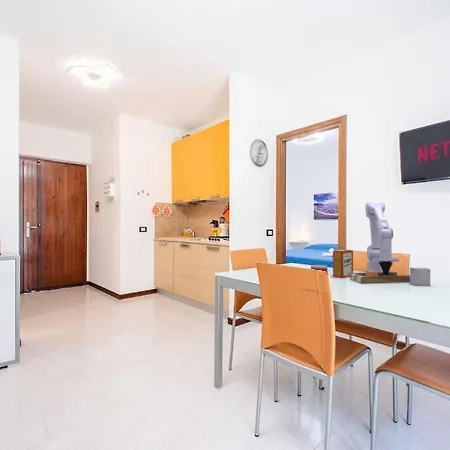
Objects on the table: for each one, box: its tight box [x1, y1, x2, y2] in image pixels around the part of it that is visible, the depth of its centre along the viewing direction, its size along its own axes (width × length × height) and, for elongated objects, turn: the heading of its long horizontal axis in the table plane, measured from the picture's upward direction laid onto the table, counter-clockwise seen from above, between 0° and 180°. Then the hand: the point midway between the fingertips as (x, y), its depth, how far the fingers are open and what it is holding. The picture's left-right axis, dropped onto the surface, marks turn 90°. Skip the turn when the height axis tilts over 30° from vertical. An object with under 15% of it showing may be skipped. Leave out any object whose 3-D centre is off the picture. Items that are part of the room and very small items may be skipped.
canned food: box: [310, 264, 328, 273], centre depth 152 cm, size 8×8×11 cm
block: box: [365, 269, 378, 277], centre depth 168 cm, size 4×4×4 cm
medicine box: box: [409, 267, 431, 287], centre depth 156 cm, size 8×4×9 cm, turn 84°
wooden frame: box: [350, 271, 410, 285], centre depth 168 cm, size 12×27×4 cm, turn 95°
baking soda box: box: [332, 249, 354, 279], centre depth 182 cm, size 10×6×16 cm
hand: (385, 275), depth 168 cm, fingers closed
